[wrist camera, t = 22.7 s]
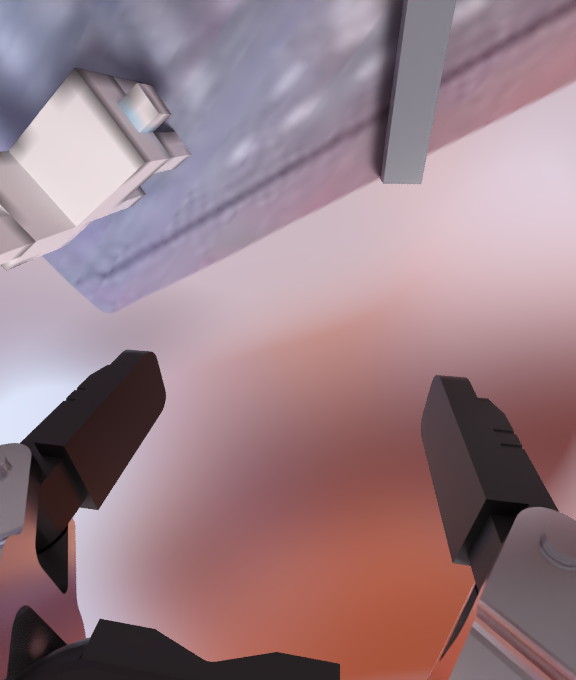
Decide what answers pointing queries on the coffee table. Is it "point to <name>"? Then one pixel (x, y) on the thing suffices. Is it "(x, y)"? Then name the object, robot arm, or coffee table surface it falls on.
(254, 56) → the coffee table surface
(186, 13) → the coffee table surface
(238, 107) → the coffee table surface
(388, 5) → the coffee table surface
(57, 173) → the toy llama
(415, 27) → the orange-tipped gray rod
